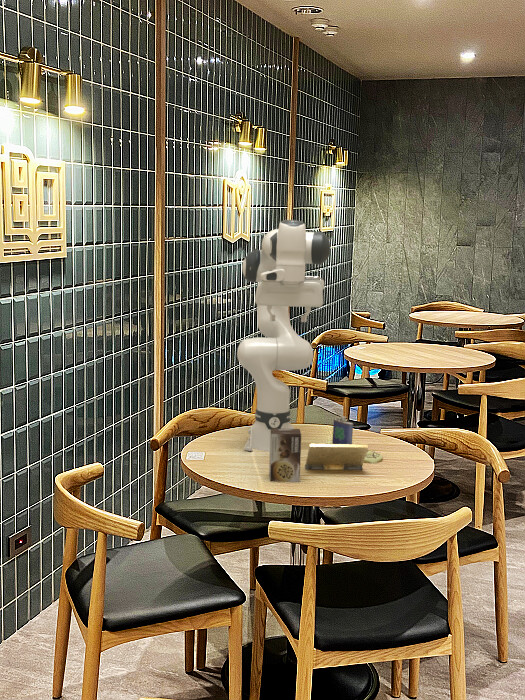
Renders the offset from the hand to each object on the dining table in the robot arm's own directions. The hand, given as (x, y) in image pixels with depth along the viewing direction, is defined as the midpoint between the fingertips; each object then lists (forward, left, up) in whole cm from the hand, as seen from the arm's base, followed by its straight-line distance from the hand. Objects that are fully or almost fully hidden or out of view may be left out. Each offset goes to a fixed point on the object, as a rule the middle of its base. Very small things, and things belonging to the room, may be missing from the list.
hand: (288, 321), depth 249 cm
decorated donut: (-17, +30, -48) cm, 59 cm away
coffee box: (+7, 0, -48) cm, 49 cm away
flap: (0, +17, -43) cm, 47 cm away
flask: (-39, +26, -48) cm, 67 cm away
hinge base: (0, +17, -48) cm, 51 cm away
